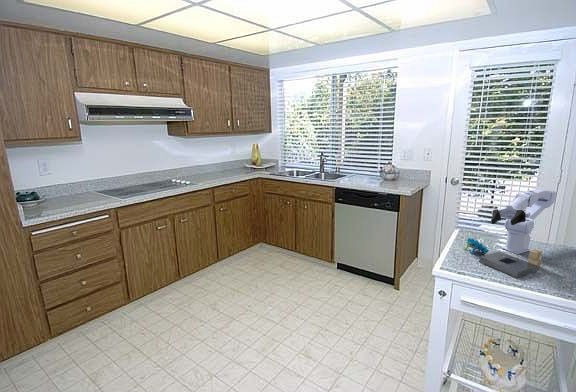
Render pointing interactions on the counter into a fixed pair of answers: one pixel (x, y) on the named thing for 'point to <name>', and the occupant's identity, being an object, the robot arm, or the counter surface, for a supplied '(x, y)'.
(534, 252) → the tan wooden beam
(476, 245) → the blue irregular piece
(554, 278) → the counter surface
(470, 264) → the counter surface
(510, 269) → the gray slab with hole
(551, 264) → the counter surface
